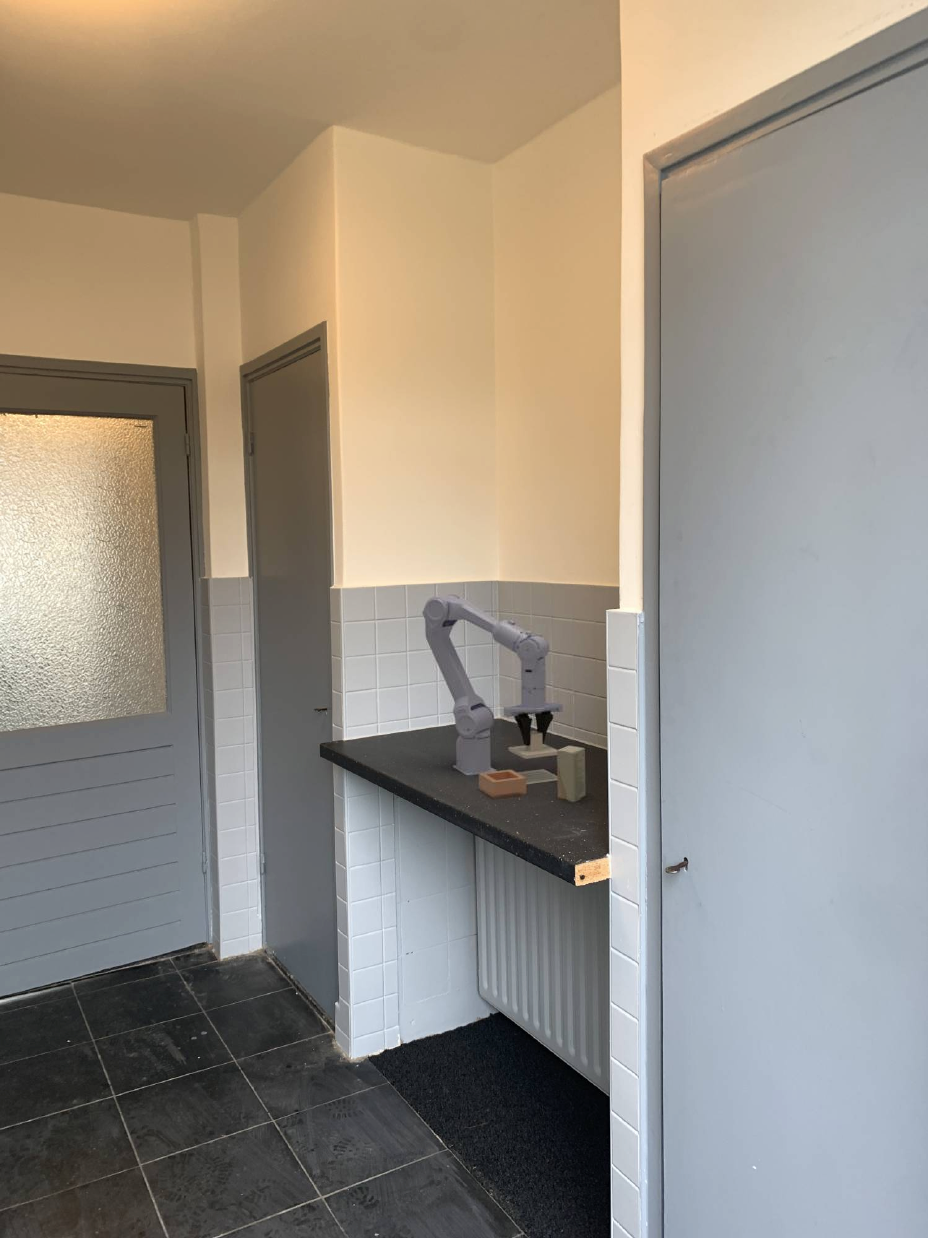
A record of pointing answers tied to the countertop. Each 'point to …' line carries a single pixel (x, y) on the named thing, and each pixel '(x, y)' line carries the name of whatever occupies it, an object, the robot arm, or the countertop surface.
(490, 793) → the dish
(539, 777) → the mat
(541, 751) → the lid
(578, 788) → the box
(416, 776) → the countertop surface
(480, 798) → the countertop surface
